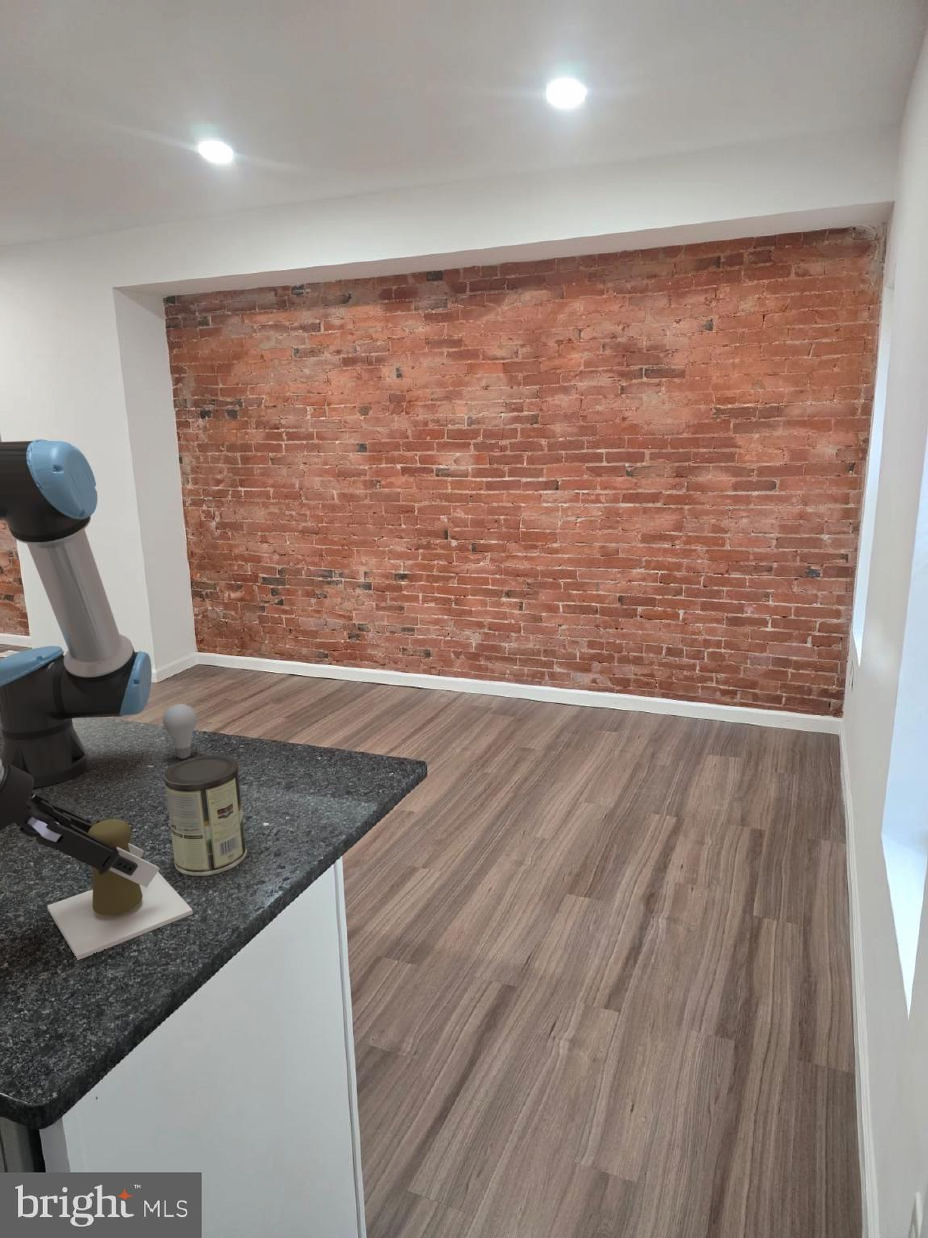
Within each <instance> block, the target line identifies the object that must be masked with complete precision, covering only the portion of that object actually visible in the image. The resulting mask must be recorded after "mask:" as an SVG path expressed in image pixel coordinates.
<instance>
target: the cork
mask: <svg viewBox="0 0 928 1238" xmlns="http://www.w3.org/2000/svg"><path fill="white" fill-rule="evenodd" d="M93 825H94V826H92V827H91V828H90V830H89V832H88V834H90V835H92V836H94V837H96V838H97V839H99V840H101V841H103V842H105V843H106V844H108V845H110V846H112V847H115V848H116V847H119V848H121V849H123V850H125V851H127V852H129V853H130V850H129V847H128V844H129V843H131V840H132V831H131V828H130V825H129V824H128V822H127V821H125V820H123V819H119V818H110V819H105V820H102V821H100V822H99V823H97V824H96V823H95V824H93ZM92 890H93V903H92V908H93V910H94V911H95V912H96V913H98V914H102V915H113V914H119V913H122V912H125V911H128V910H130V909H132V908H134V907H135V906H136V905H137V904H139V903H140V901H141V900H142V897H143V895H142V891H141V888H140V884H138V883H136V882H133V881H131V880H129V879H127V878H125V877H123V876H121V875H118V874H116V873H114V872H112V871H110V870H109V871H108V872H107V873H103V875H101V874H99V872H98V869H96V868H94V867H92Z"/></svg>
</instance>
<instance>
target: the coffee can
mask: <svg viewBox="0 0 928 1238" xmlns="http://www.w3.org/2000/svg"><path fill="white" fill-rule="evenodd" d="M239 771H240V769H239V762H238V761H237V760H236V759H235V758H233V757H231V756H227V755H226V756H225V755H219V754H218V755H217V754H216V755H215V754H212V755H211V754H210V755H201V756H194V757H191V758H187V759H183V760H181V761H178V762H176V763H174V764H172V765H170V766H169V767H167V768H166V770H165V771H164V772H163V775H162V778H163V779H162V780H163V781H164V786H165V794H166V803H167V810H168V811H167V812H168V818H169V825H170V826H169V827H170V835H171V841H172V848H173V851H172V852H173V858H174V859H173V860H174V868H175V869H176V870H177V871H178V872H179V873H181V874H182V875H187V876H192V877H207V876H213V875H218V874H220V873H224V872H227V871H228V870H232V869H233V868H236V866H238V865H239V864H240V863H242V862H243V861H244V860H245V858H246V857H247V852H248V850H247V847H246V846H247V845H246V837H245V828H244V815H243V808H242V807H243V806H242V797H241V787H240V776H239Z"/></svg>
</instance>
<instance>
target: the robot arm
mask: <svg viewBox="0 0 928 1238" xmlns="http://www.w3.org/2000/svg"><path fill="white" fill-rule="evenodd" d="M96 486H97V482H96V477H95V475H94V472H93V470H92V468H91V465H90V463H89V461H88V459H87V458H86V456H85V455H84V453H83V452H82V451H81V450H80V449H79V448H77V447H76V446H75V445H74V444H71V443H69V442H67V441H62V440H47V439H42V438H41V439H34V440H20V441H17V440H16V441H0V521H2V522H3V521H4V522H5V523H6V524H7V527H8V530H9V531H10V534H11V536H12V537H13V538H14V539H15V540H16V541H18V542H21V543H23V544H26V545H27V548H28V550H29V553H30V555H31V558H32V560H33V563H34V566H35V568H36V570H37V573H38V576H39V578H40V580H41V583H42V585H43V588H44V591H45V594H46V596H47V599H48V601H49V603H50V604H49V605H50V606H51V609H52V612H53V614H54V617H55V619H56V622H57V624H58V627H59V629H60V632H61V635H62V637H63V640H64V641H65V642H64V643H65V645H66V647H67V649H68V650H67V651H66V652H65V651H64V650H63V648H62V647H61V646H59V645H57V646H56V645H47V646H40V647H36V648H31V649H27V650H26V649H25V650H22V651H20V652H16V653H12V654H10V655H7V656H5V657H2V658H1V659H0V729H1V730H0V731H1V737H2V743H1V747H0V832H1V831H3V830H5V829H6V828H7V827H9V826H11V825H12V824H15V825H16V826H18V827H19V829H18V830H19V832H20V833H22V834H24V835H26V836H28V837H31V838H32V837H35V838H36V839H35V841H36V842H37V843H38V844H39V845H42V846H44V847H49V848H51V849H52V850H53V849H54V850H56V851H58V852H60V853H63V854H65V855H67V856H69V857H71V858H73V859H75V860H77V861H80V862H82V863H83V864H85V865H88V866H90V867H92V868H93V867H94V868H96V869H98V872H99V874H101V875H103V873H107V872H108V871H109V870H110V871H112V872H114V873H116V874H118V875H121V876H123V877H125V878H127V879H129V880H131V881H133V882H136V883H138V884H140V885H142V886H144V887H146V888H147V886H148V885H149V884H150V882H151V881H152V879H153V878H154V876H155V875H156V874H157V872H159V870H160V867H159V866H157V865H155V864H153V863H152V862H149V861H147V860H145V859H143V858H141V857H142V856H143V855H144V853H145V851H144V850H143V849H142V848H140V847H137V846H136V845H133V844H132V843H131V842H129V844H128V847H129V850H130V853H129V852H127V851H125V850H123V849H121V848H119V847H116V848H115V847H112V846H110V845H108V844H106V843H105V842H103V841H101V840H99V839H97V838H96V837H94V836H92V835H90V834H88V832H89V830H90V828H91V827H92V826H94V825H95V824H97V823H99V822H101V821H100V820H97V821H96V822H95V824H93V822H92V820H91V819H89V818H85V817H84V816H82V815H79V814H77V813H75V812H74V811H72V810H70V809H68V808H65V807H63V806H61V805H59V804H58V803H55V802H54V801H51V800H50V799H48V798H45V796H43V795H41V794H38V793H36V792H35V791H33V790H34V789H36V788H42V787H47V786H50V785H54V784H58V783H59V784H60V783H62V782H66V781H67V780H70V779H72V778H75V777H77V776H79V775H80V774H82V773H83V772H84V771H86V770H87V768H89V763H90V762H89V757H88V756H89V755H88V751H87V749H86V747H85V746H84V744H83V742H82V740H81V739H80V736H79V735H78V733H77V731H76V730H75V728H74V723H73V719H87V718H88V719H89V718H92V719H93V718H115V717H117V718H122V717H124V716H125V717H126V716H134V715H138V714H140V713H142V712H143V711H144V710H145V709H146V707H147V704H148V701H149V698H150V694H151V687H152V679H153V677H152V675H153V674H152V673H153V672H152V671H153V669H152V660H151V656H150V655H149V653H147V652H146V651H142V650H138V651H135V649H134V646H133V643H132V641H131V639H129V638H128V637H127V636H125V635H123V634H120V632H119V630H118V627H117V623H116V620H115V617H114V614H113V611H112V608H111V605H110V601H109V598H108V596H107V592H106V590H105V587H104V584H103V581H102V578H101V577H102V576H101V575H100V572H99V568H98V566H97V563H96V559H95V556H94V554H93V551H92V548H91V545H90V542H89V539H88V536H87V532H86V528H87V527H88V526H89V524H90V523H91V520H92V515H93V514H94V513H95V511H96V509H97V505H98V491H97V489H96Z"/></svg>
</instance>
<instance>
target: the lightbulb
mask: <svg viewBox="0 0 928 1238" xmlns="http://www.w3.org/2000/svg"><path fill="white" fill-rule="evenodd" d="M163 714H164V715H163V718H162V724H163V727H164V728H165V730H166V731H167V733H168V734H169V735H170V737H171V739H172V741H173V745H174V748H175V750H176V756H177V758H179V759H181V760H187V759H188V758H189V757H190V756H191V755H192V754H191V751H192V749H191V746H192V736H193V732H194V730H195V729H196V725H197V721H198V716H197V713H196V711H195V710H194V708H192V707H191V706H190V705H187V704H184V703H177V704H173V705H172V706H170V707H169V708H167V710H166V711H165V712H164V713H163Z"/></svg>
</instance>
